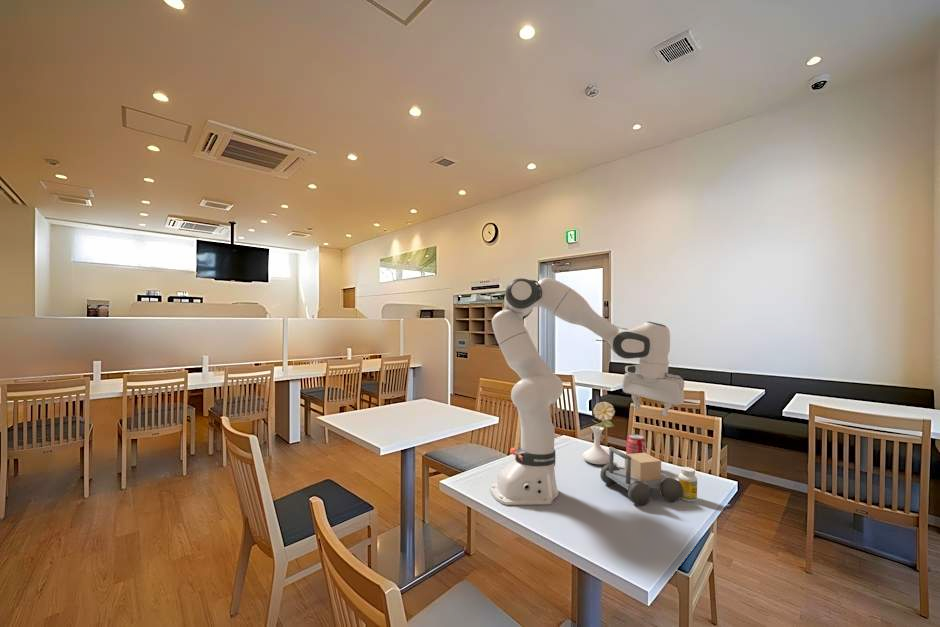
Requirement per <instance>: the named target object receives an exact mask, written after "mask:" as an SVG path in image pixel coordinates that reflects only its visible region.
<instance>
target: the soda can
mask: <svg viewBox="0 0 940 627" xmlns="http://www.w3.org/2000/svg"><path fill="white" fill-rule="evenodd" d="M646 444H647V443H646V440H645V436H644V435H641V434H636V433H630V434H628V437H627V438H626V444H625V445H626V446H625V447H626V452H625V454H634V453H646V454H647V451H646V450H647V447H646V446H647V445H646Z"/></svg>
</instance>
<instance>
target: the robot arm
mask: <svg viewBox="0 0 940 627" xmlns="http://www.w3.org/2000/svg"><path fill="white" fill-rule="evenodd" d="M503 300H504V302H503V303H504V305H503V309H502V310H500V311H498V312H497V313H495V314H494V316H493V317H492V319H491V326H492V330H493V333H494V334H493V335H494V336H495V339H496V342H497V344H498V346H499V349H500V351H501V353H502V355H503V357H504V360H505V362H506V364H507V365H508V368H510V369H511V370H513V371H514V372H515V373H516V374H517V375H518V377H519V378H520V380H519V381H517V382H516V383H515V384H514V385H513V386H512V389H511V391H510V392H511V393H510V399H511V401H512V403H513V406H514V407H515V408H516V409H517V412H518V417H519V422H520V447H519V449H516V448H515V447H511V448H510V449H509V450H510V451H509V452H510V453H511V454H512V455H513V456H514V457H515V458H514V459H513V460H512V461H511V462H509V463H508V464H507V465H506V466H505V467H503V468H502V469H501V470H500V471H499V473H498V474H497V481H496V482H494V483H491V485H490V493H491V496H493V498H494V499H495V500H496V501H498V503H501V504H503V505H504V506H505V505H506V506H515V505H516V506H525V505H528V506H529V505H552V503H553V501H554V500H555V499H556V498H557V497H558V496H559V490H558V486H557V480H556V470H555V466H556V449H555V426H554V424H553V423H552V419H551V415H550V405H551V404H554V403H556V402H557V401H558V400H559V399H560V397H561V396H562V394H563V392H564V384H563V381H562V380H561V378H560V377H559V376H558V375H557V374H555V373H554V372H553V370H552V369H551V368H550V367H549V366H548V364H547V363H546V362H545V360H544V359H543V358H542V355H540V353H539V351H538V350H537V348H536V346H535V344H534V341H533V340H532V338H531V336H530V334H529V332H528V330H527V327H526V326H525V324H524V323H525V322H524V319H526V318H528V316H529V315H530V314H531V313H532V311H533V309H534V308H536V307H537V308H542V309H546V310H547V312H549V313H551V314H552V315H554V316H555V317H557V318H559V319H561V320H563V321H564V322H567V323H569V324H571V325H572V324H573V325H577V326H581V327H584V328H586V329H587V330H589V331H591V332H592V333H594V334H595V335H597V336H598V337H600V338H601V339H603V340H604V341H605V342H607V344H608V346H609V348H610V349H611V350H612V351H613V352H614V354H616V355H617V356H618V357H620V358H622V359H626V360H630V359H638V358H639V363H635V364H631V365H626V366H625V367H624V370H625V373H624V375H623V377H622V378H623V379H622V383H621V386H622V387H621V388H622V391H623V393H625V394H630V395H631V400H632V402H633V408H634V409H637V410H639V409H641V408H642V407H641V405H642V403H641V402H639V400H638V399H639V397H641V398H645V399H650V400H654V401H657V402H662V403H663V406H665V407H664V408H663V409H660V411H659V412H660V413H659V414H660V416H662V417H667V416H668V413H669V412H668V411H669V410H670V409H671V408H672V406H673V405H674V406H680V405H682V404H683V403H684V402H685V391H684V388H685V380H684V379H683V377H681V375H677V374H672V373H669V364H670V362H669V357H668V356H669V354H670V351H671V349H670V348H671V332H670V329H669V328H668V327H667V326H666V325H665V324H662V323H657V322H653V321H645V322H644V323H641V324H640V325H638V326H634V327H633V328H629V329H628V328H625V327H619V326H616V325H614V324H613V323H611V322H610V321H609V320H607V319H605V318H604V317H603V316H601V315H599V314H598V313H597V312H596V311H595V310H594V309H593V308H592V307H591V305H590V304H589V302H588V301H587V300H586V299H585V298H584V297H583V296H582V295H581V294H580V293H578V291H576V290H574V289H573V288H571V287H570V286H568V285H567V284H565V283H563V282H560V281H559V280H557V279H554V278H551V277H542V278H541V279H540V280H538V281H537V280H535V279H527V278H523V277H522V278H521V277H520V278H516V279H514V280H511V282H510V283H508V285H507V287H506V289H505V295H504V298H503Z"/></svg>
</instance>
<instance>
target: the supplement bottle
mask: <svg viewBox="0 0 940 627" xmlns="http://www.w3.org/2000/svg"><path fill="white" fill-rule="evenodd" d="M678 481H679V482H680V483H681V485H682V488H683V492H682V495H681V497H680V500H682V501H685V500H686V501H685V502H690V501H693V502H697V500H698V477H697V476H696V470H695V469H694V468H692V467H689V466H681V468H680V473H679V475H678Z"/></svg>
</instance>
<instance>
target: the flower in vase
mask: <svg viewBox="0 0 940 627" xmlns="http://www.w3.org/2000/svg"><path fill="white" fill-rule="evenodd" d="M615 414H616V410H615V408H614V405H612V404H611V403H609V402H606V401H603V402H602V401H600V402H598V403H596V405H594V408H593V415H594V418H596V419H597V420H600V421H601V424H599V426H597V425H594V426H591V427H590V428H591V430H592V431H593V437H594V438H593V439H594V440H593V446H592V447H590V448H589V449H586V450H585V451H584V453H583V454H582V459H583V460H584V461H585V462H588V463H590V464H594V465H600V466H601V465H603V466H604V465H606V464H609V452H607V451H606V450H605V449H604V448H602V445H601V435H602V433H603V431H604V430H605V428H604V427H602V425H604V426H605V427H606V428H612V427H615V425H614V424H613V423H612V422H611V421H610V420H612V418H613V417H614V416H615ZM592 421H593V422H594V423H596V424H598V422H597V421H595V420H594V419H592Z"/></svg>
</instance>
